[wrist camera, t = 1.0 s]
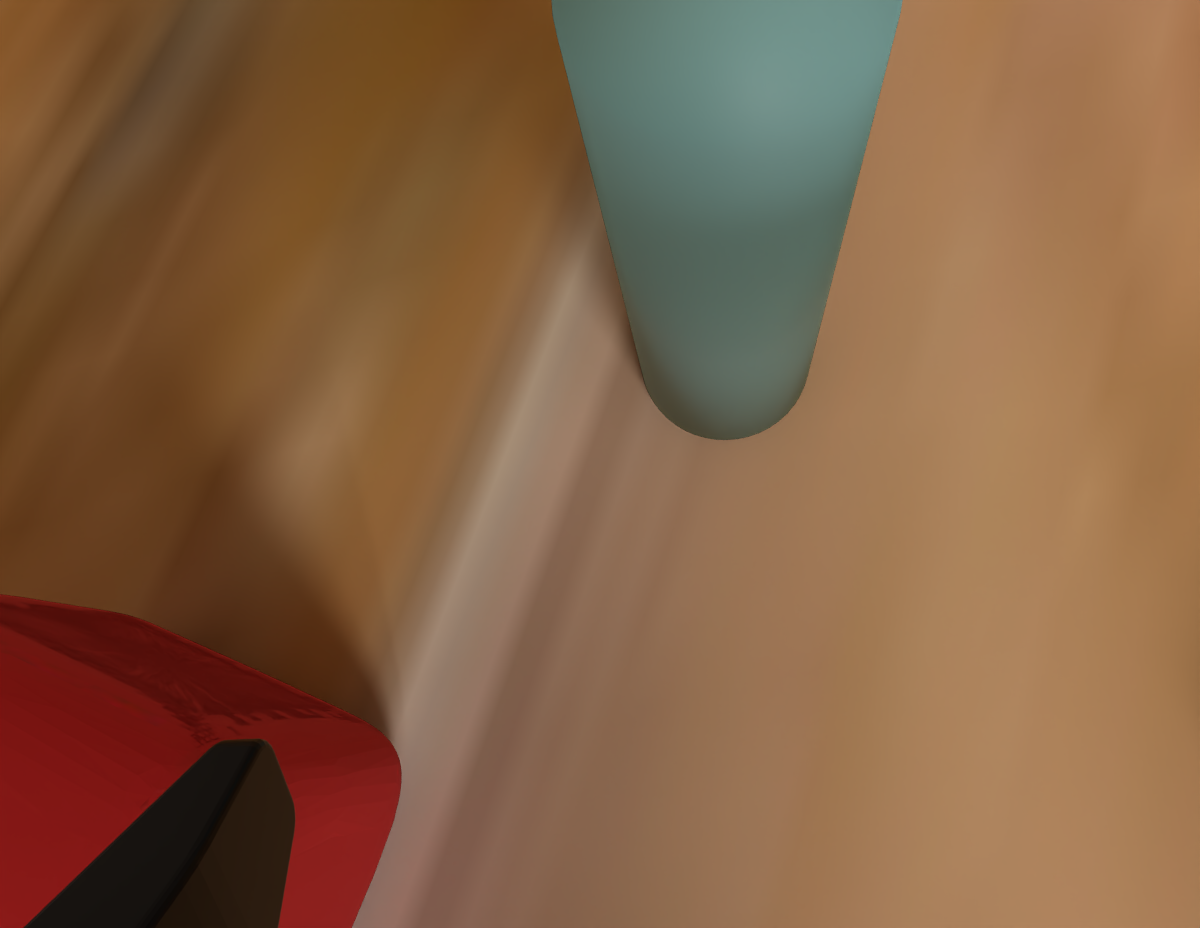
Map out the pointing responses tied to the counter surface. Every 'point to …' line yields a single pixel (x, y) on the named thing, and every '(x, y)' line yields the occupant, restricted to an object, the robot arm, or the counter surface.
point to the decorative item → (168, 755)
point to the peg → (725, 182)
